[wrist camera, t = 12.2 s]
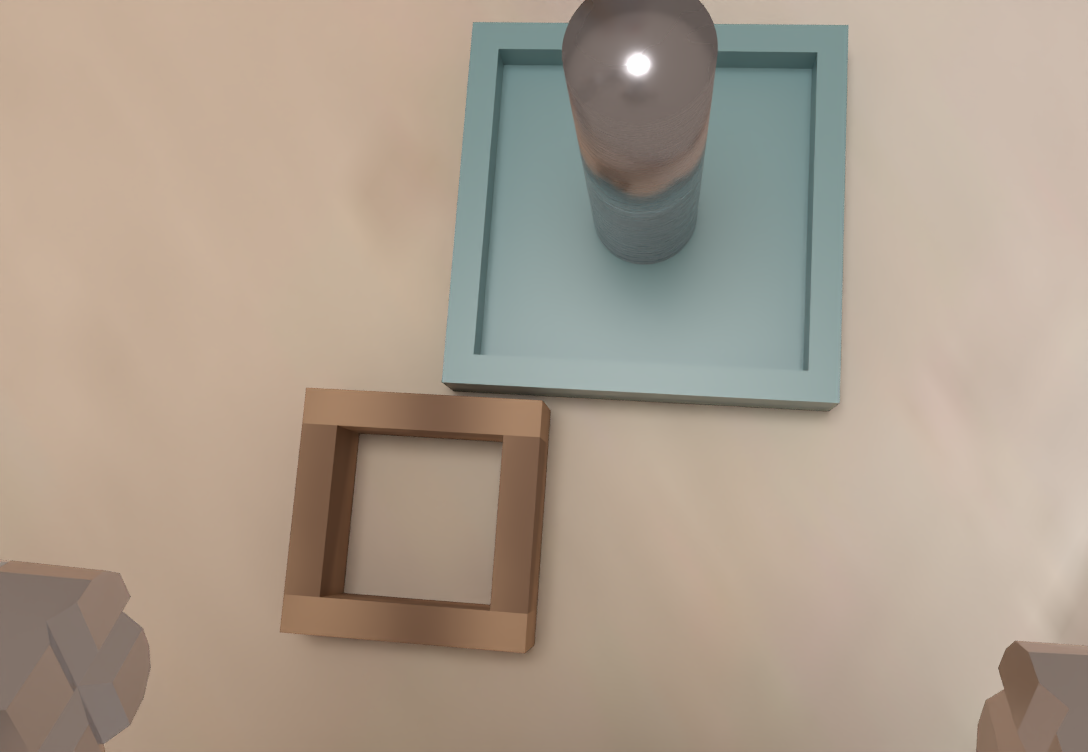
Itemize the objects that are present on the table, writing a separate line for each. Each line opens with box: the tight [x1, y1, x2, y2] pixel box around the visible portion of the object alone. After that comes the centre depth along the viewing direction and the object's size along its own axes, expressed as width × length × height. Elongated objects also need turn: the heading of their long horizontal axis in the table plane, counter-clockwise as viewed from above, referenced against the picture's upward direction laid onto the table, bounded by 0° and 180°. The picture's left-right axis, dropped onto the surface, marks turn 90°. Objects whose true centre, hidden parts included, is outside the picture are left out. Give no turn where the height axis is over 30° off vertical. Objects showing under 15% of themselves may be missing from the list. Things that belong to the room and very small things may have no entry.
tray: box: [442, 22, 848, 411], centre depth 35 cm, size 13×13×2 cm
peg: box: [562, 0, 718, 265], centre depth 29 cm, size 4×4×12 cm
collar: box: [280, 388, 551, 653], centre depth 33 cm, size 8×8×2 cm
